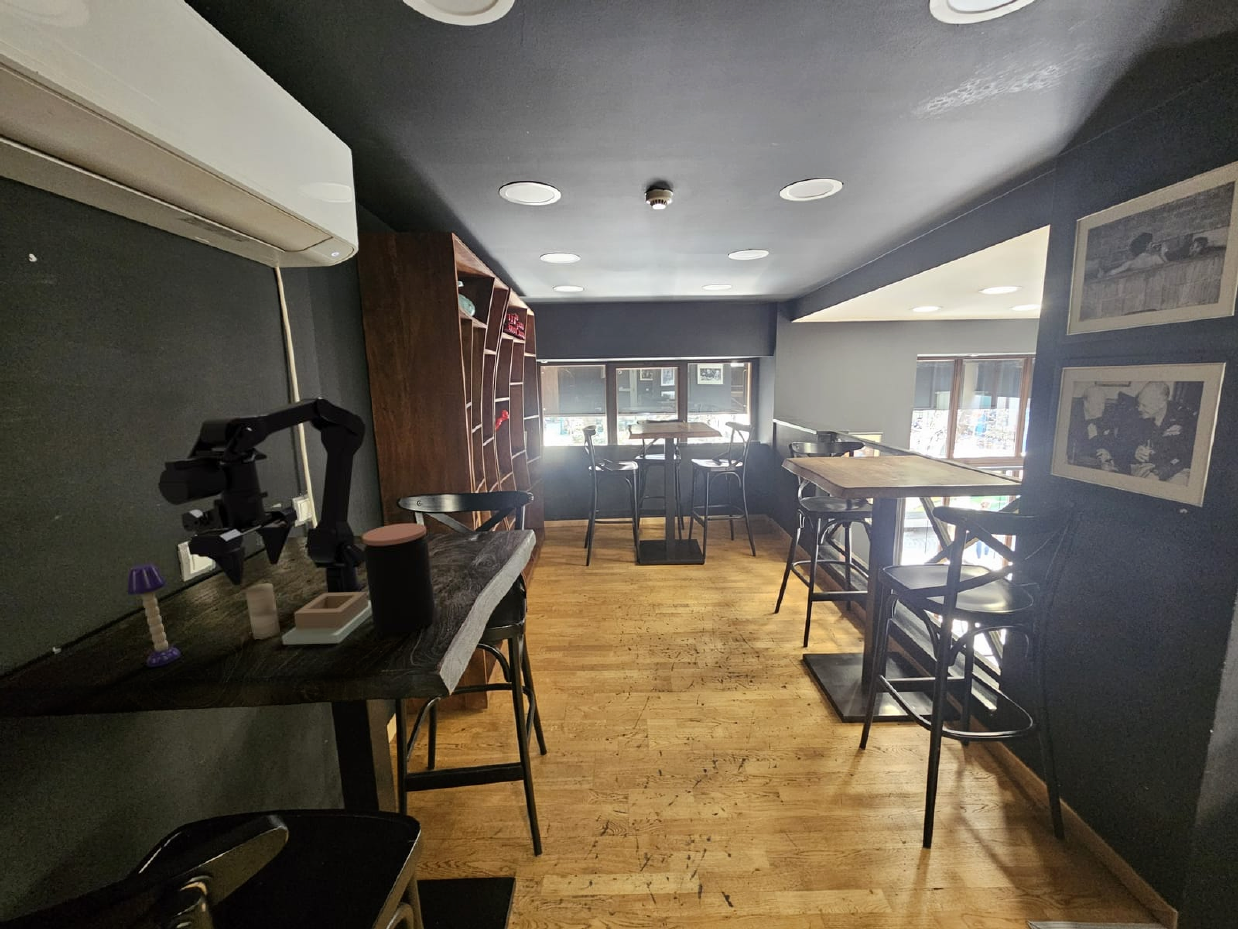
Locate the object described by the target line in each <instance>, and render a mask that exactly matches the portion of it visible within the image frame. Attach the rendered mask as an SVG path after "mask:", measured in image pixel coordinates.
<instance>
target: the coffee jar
mask: <svg viewBox="0 0 1238 929" xmlns="http://www.w3.org/2000/svg"><path fill="white" fill-rule="evenodd" d="M426 533H427V526H425V525H424V524H421V523H412V522H411V523H397V524H396V523H395V524H391V525H389V524H388V525H386V526H385V525H384V526H380V527H378V528H375V529H371V530H369V531H367V532H365V533H364V534H362V536H361V538H362V542H363V544H365V546H364V548H363V551H364V556H365V562H364V563H365V570H366V577H367V578H366V579H367V586H368V593H369V598H370V599H369V600H370V601H371V609H372V614H371V615H372V616H371V617H372V623H373V627H374V629H375V630H376V632H378V633H379V634H381V635H382V636H387V637H401V636H407V635H411V634H415V633H417V632H419V631H421V630H422V631H423V630H424V629H425V628H427V627H428V626H429V625H430V624H431V623H432V622H433V619H434V618H435V615H436V611H437V610H436V603H435V594H434V586H433V577H432V568H431V558H430V549H429V542H428V539H427V537H425V534H426ZM426 626H427V627H426Z"/></svg>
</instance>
